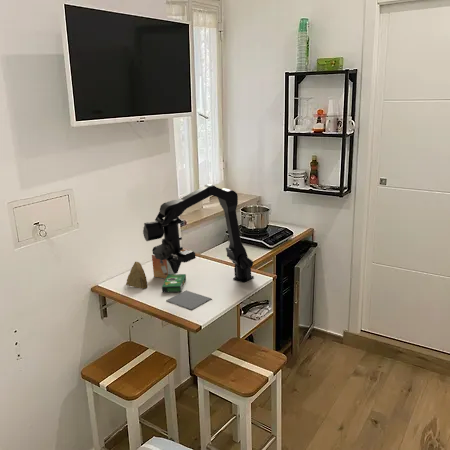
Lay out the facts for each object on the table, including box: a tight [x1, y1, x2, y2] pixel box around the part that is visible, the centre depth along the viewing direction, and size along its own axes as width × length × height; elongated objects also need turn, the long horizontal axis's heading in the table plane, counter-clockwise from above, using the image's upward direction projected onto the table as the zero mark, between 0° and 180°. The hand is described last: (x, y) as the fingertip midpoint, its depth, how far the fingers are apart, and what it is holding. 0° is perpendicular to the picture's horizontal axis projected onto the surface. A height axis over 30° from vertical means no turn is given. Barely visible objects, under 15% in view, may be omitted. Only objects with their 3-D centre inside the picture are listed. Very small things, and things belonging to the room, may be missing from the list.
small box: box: [151, 253, 174, 280], centre depth 211 cm, size 8×6×10 cm
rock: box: [125, 261, 148, 290], centre depth 203 cm, size 11×9×10 cm
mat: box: [166, 289, 212, 311], centre depth 187 cm, size 14×11×1 cm
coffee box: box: [161, 273, 187, 293], centre depth 200 cm, size 8×3×13 cm
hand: (175, 273), depth 188 cm, fingers closed
